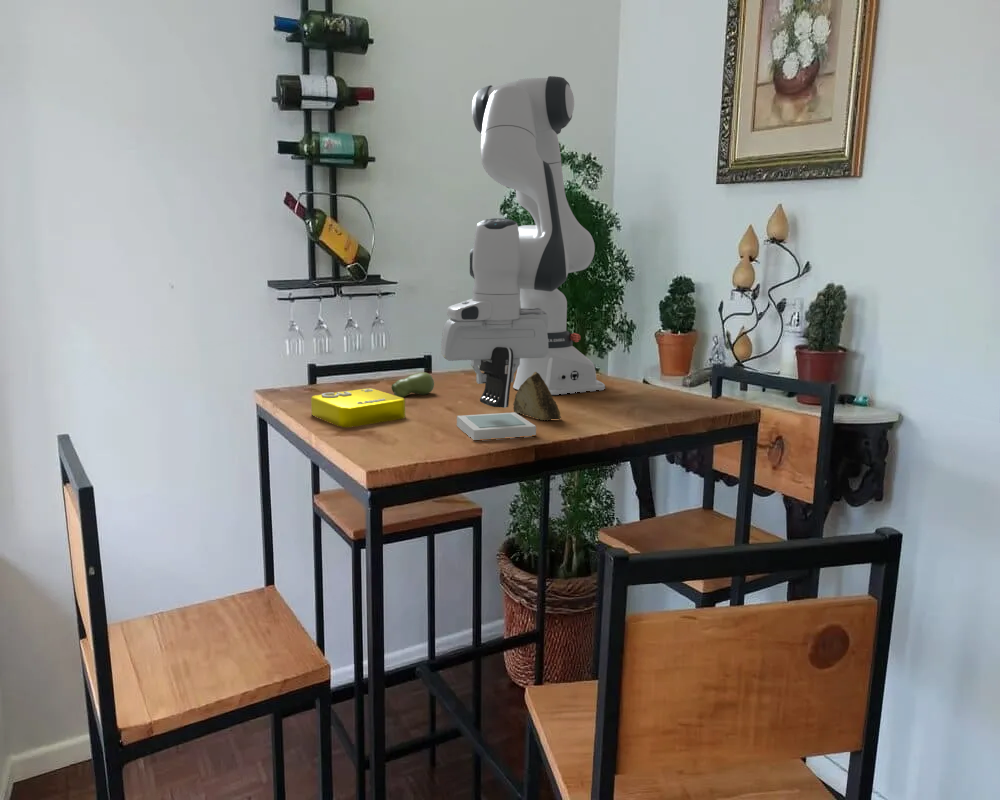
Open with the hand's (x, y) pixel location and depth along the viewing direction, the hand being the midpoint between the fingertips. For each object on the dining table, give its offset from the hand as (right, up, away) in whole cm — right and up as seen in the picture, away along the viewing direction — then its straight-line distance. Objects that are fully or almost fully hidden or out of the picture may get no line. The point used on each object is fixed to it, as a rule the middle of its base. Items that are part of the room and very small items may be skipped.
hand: (494, 382), depth 147 cm
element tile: (-28, -7, +13) cm, 32 cm away
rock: (+8, -7, +15) cm, 19 cm away
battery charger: (-1, -5, +1) cm, 5 cm away
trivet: (0, -9, +2) cm, 9 cm away
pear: (-19, -2, +35) cm, 40 cm away
